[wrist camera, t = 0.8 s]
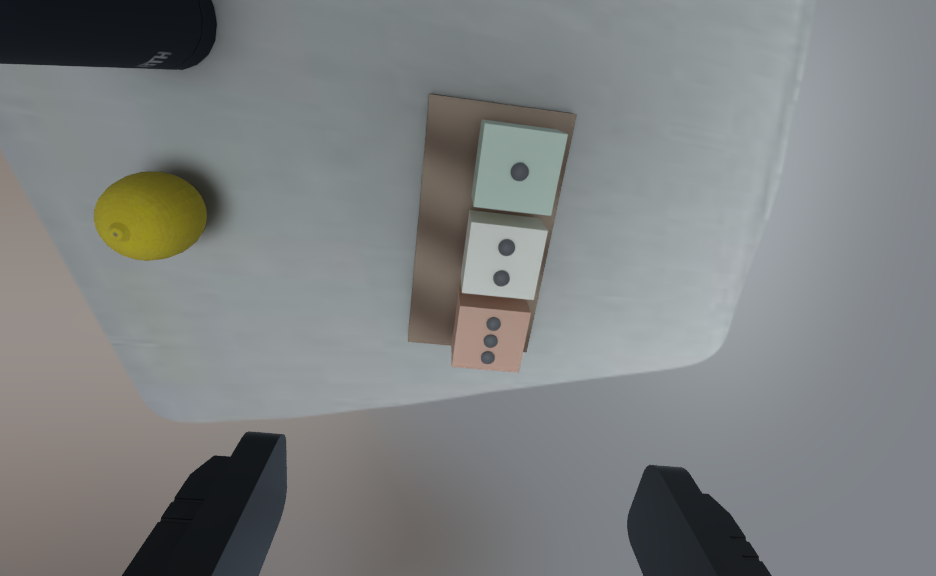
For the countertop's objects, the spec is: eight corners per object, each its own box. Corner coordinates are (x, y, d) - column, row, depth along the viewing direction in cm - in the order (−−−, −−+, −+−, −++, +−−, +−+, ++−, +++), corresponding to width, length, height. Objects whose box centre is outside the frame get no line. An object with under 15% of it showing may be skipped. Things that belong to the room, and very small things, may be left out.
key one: (481, 119, 30) (485, 123, 27) (557, 129, 30) (568, 134, 27) (471, 195, 32) (473, 207, 29) (542, 204, 32) (551, 216, 29)
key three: (459, 288, 35) (460, 307, 32) (524, 294, 35) (531, 314, 32) (451, 345, 37) (451, 368, 34) (513, 350, 37) (519, 373, 34)
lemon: (137, 161, 33) (48, 185, 25) (217, 163, 33) (152, 187, 26) (157, 236, 35) (80, 278, 28) (232, 237, 35) (176, 278, 28)
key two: (469, 210, 32) (471, 223, 29) (539, 218, 33) (548, 231, 30) (460, 275, 34) (461, 294, 31) (526, 282, 35) (534, 301, 32)
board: (430, 93, 32) (429, 94, 30) (572, 113, 32) (576, 114, 31) (408, 334, 39) (407, 341, 38) (524, 344, 40) (526, 352, 39)
